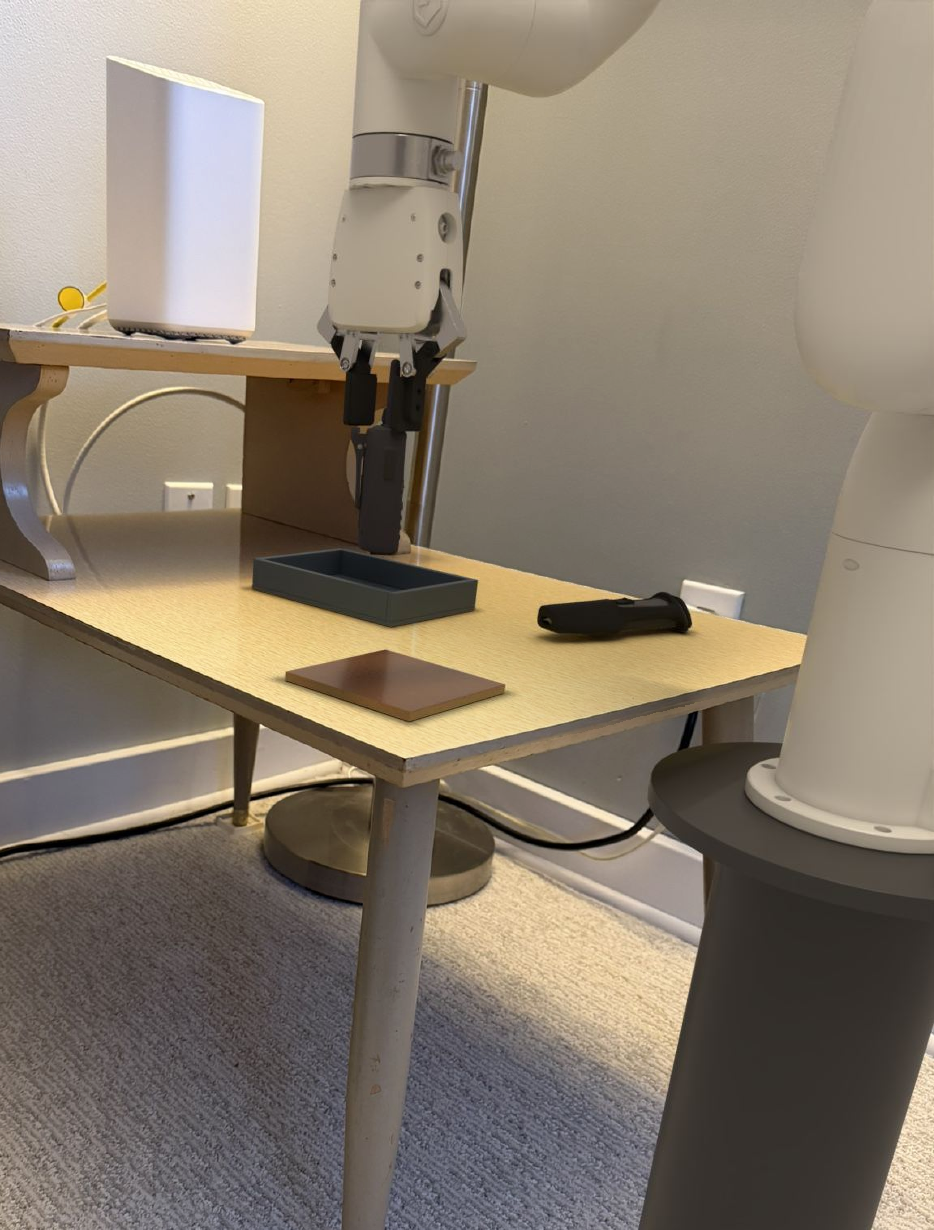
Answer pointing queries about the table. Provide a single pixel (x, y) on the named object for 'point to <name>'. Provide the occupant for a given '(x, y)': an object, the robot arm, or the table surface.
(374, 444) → the two-way radio
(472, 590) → the tray
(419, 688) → the cork pad
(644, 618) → the electric trimmer
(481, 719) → the table surface
